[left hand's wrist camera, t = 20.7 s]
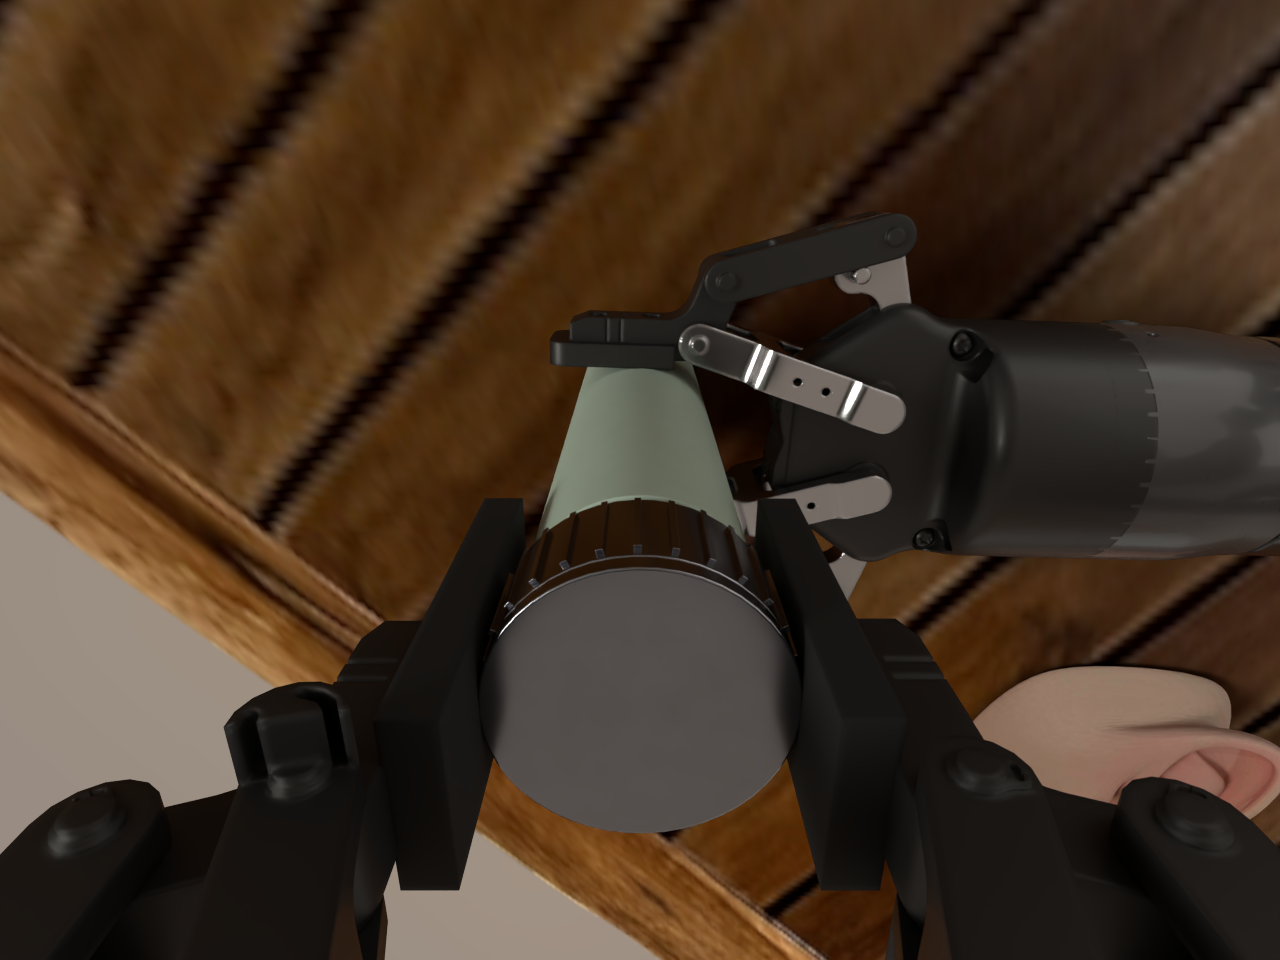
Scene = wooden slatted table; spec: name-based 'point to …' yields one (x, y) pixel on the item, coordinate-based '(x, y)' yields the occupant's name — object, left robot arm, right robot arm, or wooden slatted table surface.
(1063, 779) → the anatomical model
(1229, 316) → the wooden slatted table surface
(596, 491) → the pale green tube
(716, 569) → the lid
